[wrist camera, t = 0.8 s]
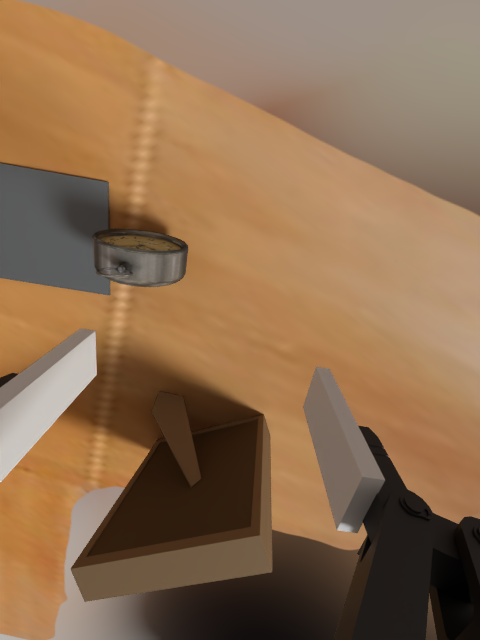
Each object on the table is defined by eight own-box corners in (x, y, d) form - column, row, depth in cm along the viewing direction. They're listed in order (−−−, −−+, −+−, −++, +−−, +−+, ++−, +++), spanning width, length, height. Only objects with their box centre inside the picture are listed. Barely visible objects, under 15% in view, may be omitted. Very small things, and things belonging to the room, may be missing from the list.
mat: (-21, 273, 43) (-24, 274, 42) (-44, 155, 37) (-47, 154, 36) (110, 294, 44) (109, 295, 43) (108, 182, 38) (107, 182, 37)
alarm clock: (196, 239, 40) (166, 258, 25) (192, 275, 42) (162, 313, 27) (120, 224, 40) (43, 235, 25) (119, 261, 42) (48, 293, 27)
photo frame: (269, 431, 53) (286, 602, 30) (166, 455, 56) (108, 627, 33) (246, 367, 48) (244, 513, 25) (133, 397, 51) (39, 552, 28)
